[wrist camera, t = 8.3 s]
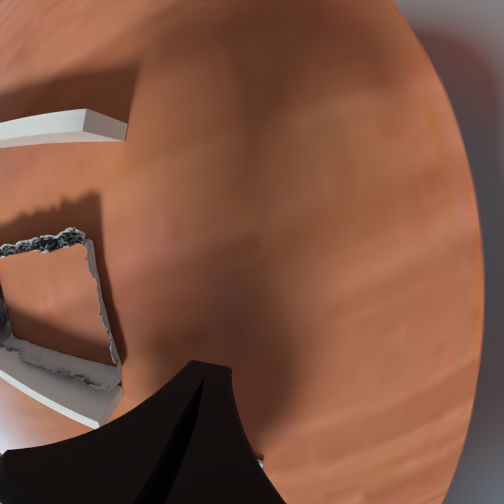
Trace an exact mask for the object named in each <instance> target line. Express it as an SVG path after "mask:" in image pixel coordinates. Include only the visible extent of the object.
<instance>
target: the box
mask: <svg viewBox="0 0 504 504" xmlns="http://www.w3.org/2000/svg"><path fill="white" fill-rule="evenodd" d="M127 125H128V124H127V123H124V122H121V121H119V120H116V119H114V118H111V117H108V116H106V115H103V114H100V113H98V112H95V111H92V110H89V109H77V110H69V111H61V112H54V113H47V114H41V115H35V116H30V117H25V118H20V119H15V120H10V121H6V122H2V123H0V148H4V147H13V146H22V145H33V144H46V143H63V142H125V137H126V131H127ZM18 353H20V352H19V350H16V349H11V350H9V351H7V350H6V349H5V348H0V377H2V378H3V379H4V380H6V381H7V382H9V383H10V384H12V385H13V386H15V387H16V388H18V389H19V390H21V391H23V392H24V393H26V394H27V395H29V396H31V397H32V398H34V399H36V400H37V401H39V402H41V403H43V404H45V405H46V406H48V407H50V408H52V409H54V410H56V411H58V412H59V413H61V414H63V415H65V416H67V417H69V418H71V419H74V420H76V421H78V422H80V423H82V424H84V425H87V426H89V427H91V428H93V429H97V428H99V427H101V426H103V425H105V424H106V423H107V421H108V420H109V418H110V417H111V415H112V414H113V412H114V410H115V409H116V407H117V406H118V404H119V403H120V401H121V400H122V398H123V396H124V395H123V389H122V386H119V385H117V386H116V387H114V388H112V389H111V390H109V391H104V390H102V389H95V388H93V387H91V386H89V385H86V384H84V383H83V381H82V380H81V379H78V378H71V376H70V374H67V373H64V374H55V373H52V372H50V371H49V370H47V369H45V367H42V366H41V365H34V364H31V363H27V362H24V361H22V360H21V358H20V357H19V356H18V355H17V354H18Z"/></svg>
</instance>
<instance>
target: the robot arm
mask: <svg viewBox="0 0 504 504" xmlns="http://www.w3.org/2000/svg"><path fill="white" fill-rule="evenodd" d="M262 467H263V461H262V460H259V459H257V458H256V456H255V454H254V452H253V450H252V448H251V446H250V444H249V442H248V439H247V437H246V434H245V432H244V429H243V426H242V424H241V421H240V418H239V414H238V411H237V407H236V403H235V399H234V394H233V388H232V370H231V369H230V367H226V366H221V365H215V364H210V363H205V362H200V361H195V360H192V361H190V362H189V363H188V364H187V365H186V366H185V367H184V368H183V369H182V370H181V371H180V372H179V373H178V374H177V375H176V376H174V377H173V378H172V379H171V380H170V381H169V382H168V383H167V384H165V385H164V386H163V387H162V388H161V389H159V390H158V391H157V392H156V393H155V394H153V395H152V396H151V397H149V398H148V399H146V400H145V401H144V402H142V403H141V404H139V405H138V406H137V407H135V408H134V409H132V410H131V411H129V412H127V413H126V414H124V415H122V416H121V417H119V418H117V419H115V420H113V421H111V422H109V423H108V424H105V425H103V426H101V427H99V428H97V429H94V430H92V431H90V432H87V433H85V434H82V435H79V436H77V437H73V438H70V439H67V440H63V441H60V442H56V443H53V444H48V445H44V446H38V447H31V448H23V449H14V450H7V451H6V452H5V453H4V454H3V455H2V456H1V457H0V502H1V503H2V504H286V502H285V501H284V500H283V499H282V497H281V496H280V494H279V493H278V492H277V490H276V489H275V487H274V486H273V484H272V483H271V482H270V480H269V479H268V477H267V476H266V474H265V472H264V471H263V469H262Z"/></svg>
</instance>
